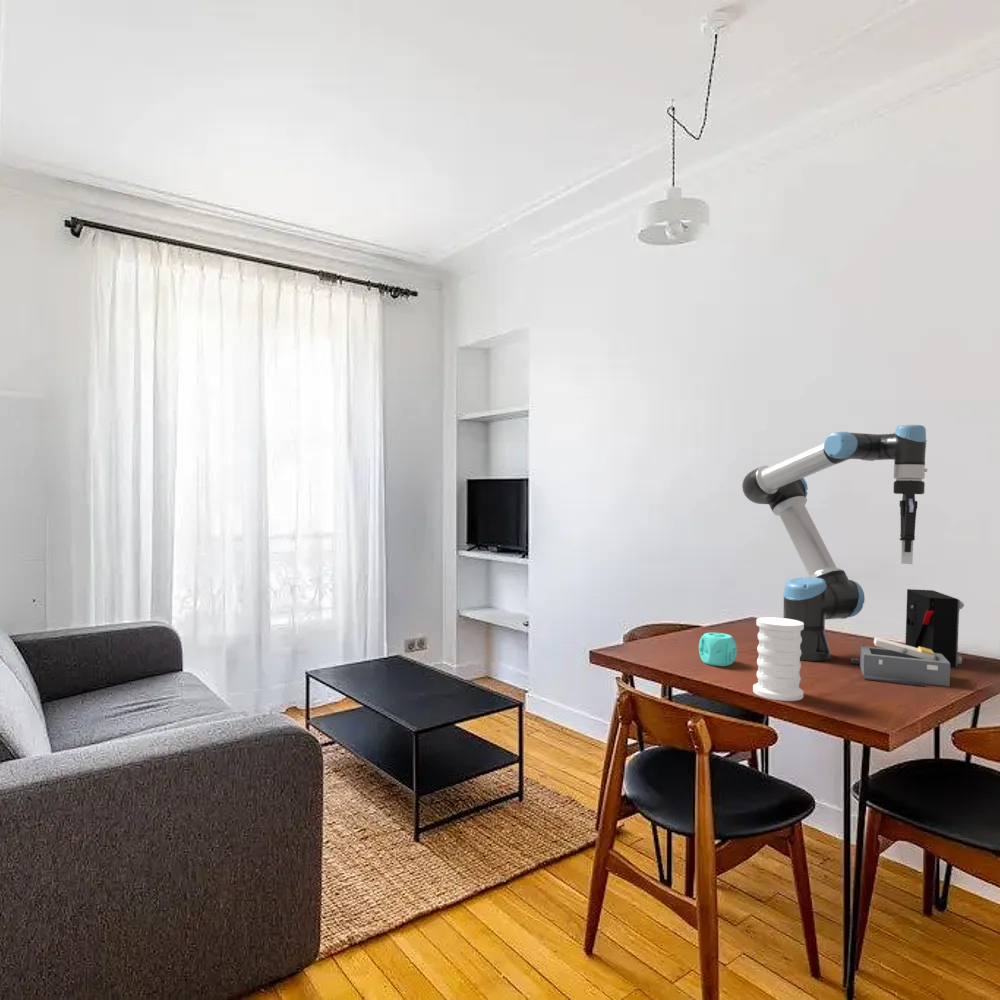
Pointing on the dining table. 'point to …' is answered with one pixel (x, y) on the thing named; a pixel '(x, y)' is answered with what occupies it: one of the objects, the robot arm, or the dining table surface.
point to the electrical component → (933, 623)
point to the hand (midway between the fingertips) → (906, 563)
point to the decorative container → (779, 659)
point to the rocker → (905, 649)
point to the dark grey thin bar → (894, 680)
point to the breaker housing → (904, 666)
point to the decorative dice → (717, 649)
